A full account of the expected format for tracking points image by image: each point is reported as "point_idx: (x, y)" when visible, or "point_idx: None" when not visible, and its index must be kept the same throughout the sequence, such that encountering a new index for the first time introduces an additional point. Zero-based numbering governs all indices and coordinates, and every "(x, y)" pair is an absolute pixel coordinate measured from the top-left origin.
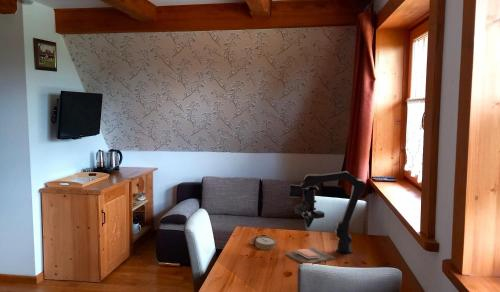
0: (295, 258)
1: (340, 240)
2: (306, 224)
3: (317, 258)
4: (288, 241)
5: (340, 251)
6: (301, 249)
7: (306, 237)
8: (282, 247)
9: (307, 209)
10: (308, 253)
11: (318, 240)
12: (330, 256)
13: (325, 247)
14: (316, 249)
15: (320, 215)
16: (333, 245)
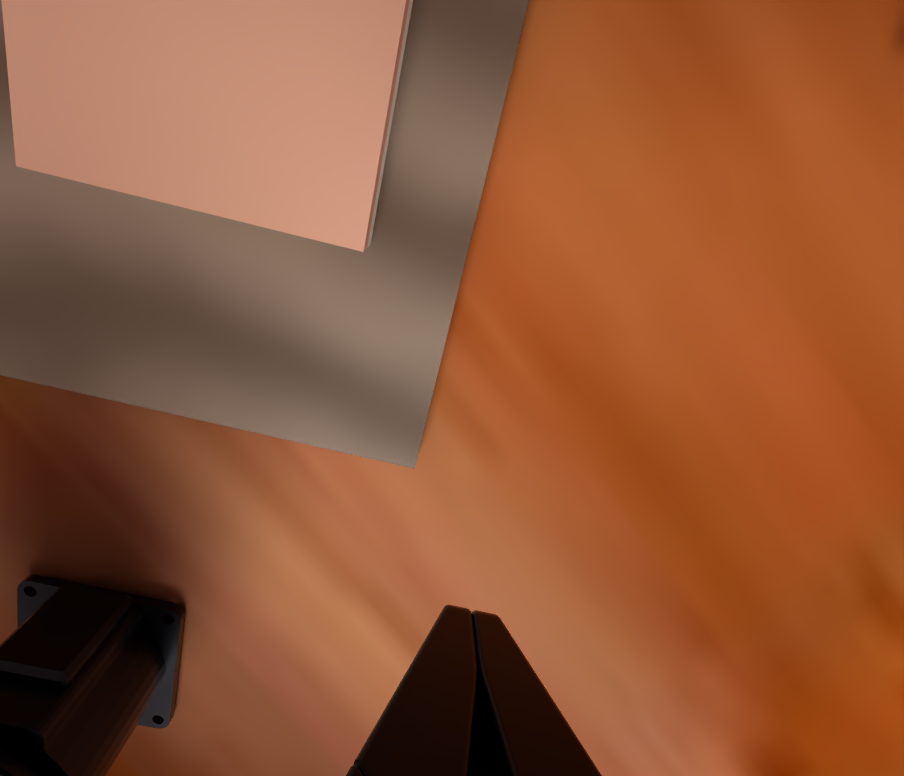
0: None
1: (14, 742)
2: (518, 676)
3: None
4: (867, 448)
5: (71, 589)
6: (372, 118)
7: (739, 722)
8: (810, 157)
9: None
10: (141, 35)
11: None
12: (2, 347)
13: (347, 611)
14: (321, 429)
15: None
16: (329, 720)
